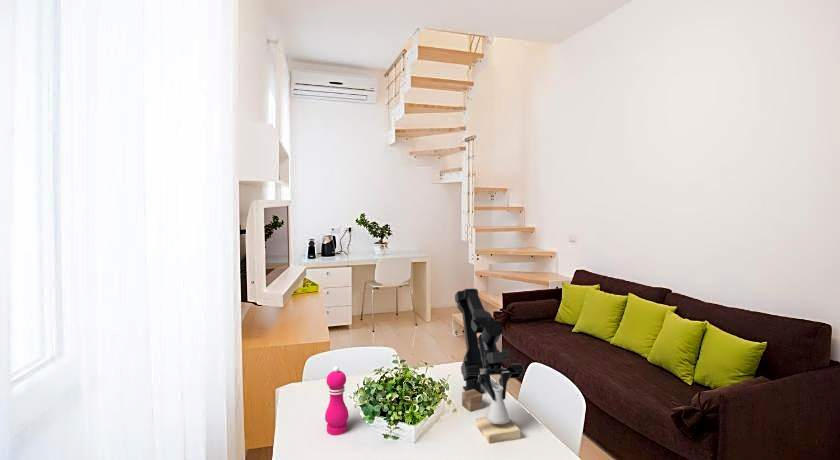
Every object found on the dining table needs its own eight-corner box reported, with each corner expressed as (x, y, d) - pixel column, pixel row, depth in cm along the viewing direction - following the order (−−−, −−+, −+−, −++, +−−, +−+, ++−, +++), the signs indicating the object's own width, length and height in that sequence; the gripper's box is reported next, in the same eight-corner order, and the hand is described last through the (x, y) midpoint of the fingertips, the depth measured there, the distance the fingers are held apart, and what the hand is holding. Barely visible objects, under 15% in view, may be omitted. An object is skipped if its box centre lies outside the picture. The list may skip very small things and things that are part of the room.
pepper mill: (325, 437, 123) (324, 372, 122) (324, 425, 130) (323, 363, 129) (349, 434, 125) (349, 369, 124) (347, 422, 131) (346, 361, 131)
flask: (514, 423, 123) (514, 390, 122) (491, 426, 121) (491, 393, 120) (503, 411, 130) (503, 381, 129) (482, 414, 128) (482, 383, 127)
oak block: (476, 427, 129) (476, 418, 129) (505, 423, 131) (505, 414, 131) (489, 445, 119) (489, 435, 119) (520, 440, 122) (520, 430, 122)
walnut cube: (462, 406, 142) (462, 392, 142) (473, 402, 145) (473, 389, 145) (470, 412, 138) (470, 397, 138) (482, 408, 140) (482, 394, 140)
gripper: (465, 340, 127) (474, 391, 116) (522, 338, 129) (536, 387, 119) (459, 356, 135) (467, 405, 125) (513, 353, 137) (525, 401, 127)
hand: (499, 399), depth 124 cm, fingers closed on flask, 3 cm apart
